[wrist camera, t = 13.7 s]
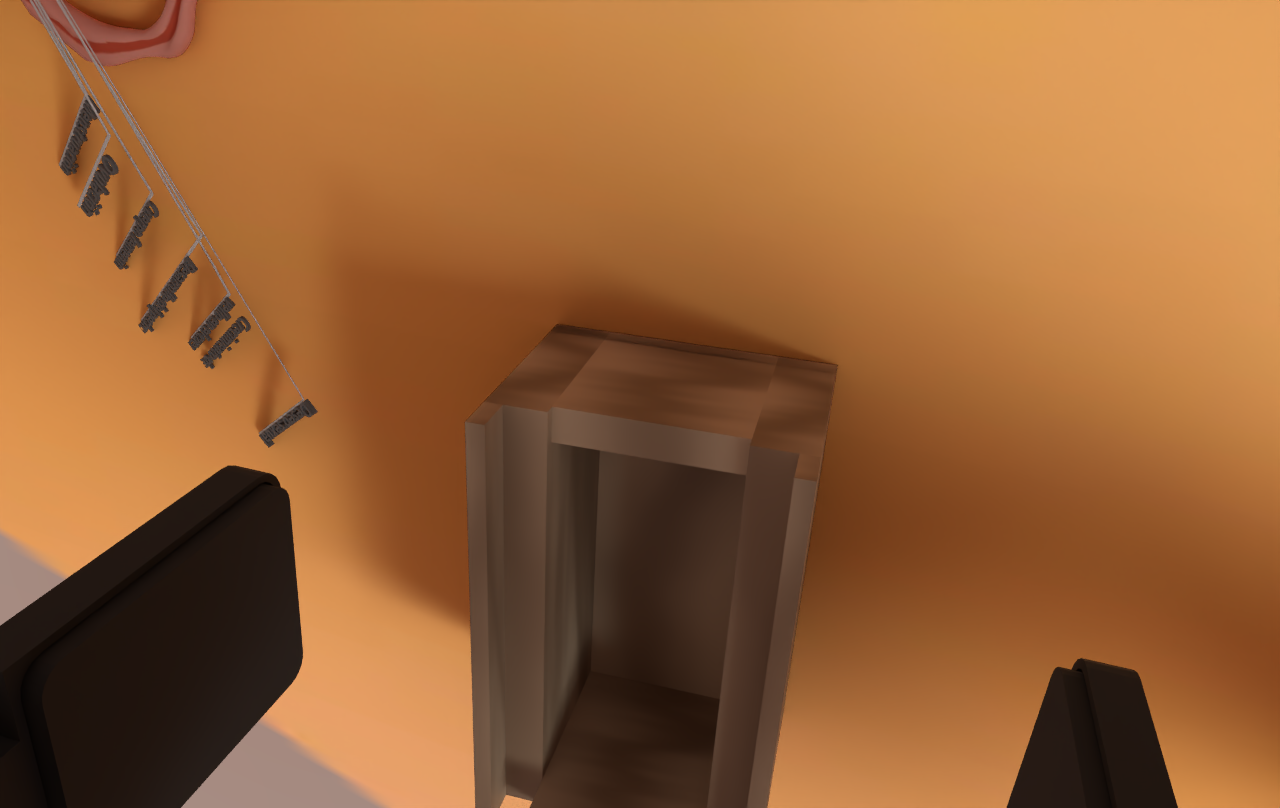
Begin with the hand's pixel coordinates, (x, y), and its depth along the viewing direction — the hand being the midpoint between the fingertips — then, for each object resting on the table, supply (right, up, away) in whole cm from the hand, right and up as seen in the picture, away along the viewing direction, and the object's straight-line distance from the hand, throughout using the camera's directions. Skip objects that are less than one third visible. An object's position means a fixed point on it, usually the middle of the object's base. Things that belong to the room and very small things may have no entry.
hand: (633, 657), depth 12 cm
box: (+2, -2, +26) cm, 26 cm away
